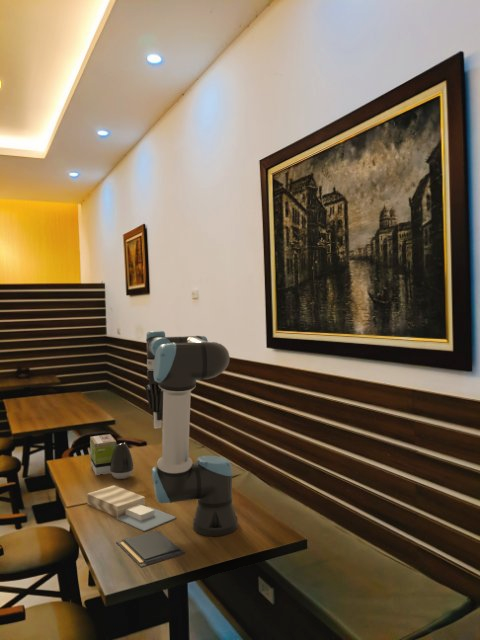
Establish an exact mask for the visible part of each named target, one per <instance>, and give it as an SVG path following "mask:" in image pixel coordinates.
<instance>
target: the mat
mask: <svg viewBox="0 0 480 640" xmlns="http://www.w3.org/2000/svg"><path fill="white" fill-rule="evenodd" d="M146 507H148V508H151V509H153V510H154V516H152V517H150V518H147V519H144V520H142V521H140V520H137V519H135V518H133V517H131V516H128V515H123V516H120V517H118V518H117V517H115V518H116V520H118V521H120V522H122V523H124V524H127V525H128V526H131V527H133V528H135V529H137V530H140V531H142V532H143V533H144V532H145V533H146V532H147V531H150V530H152V529H155V528H157V527H159V526H162V525H163V524H164V525H165V524H167V523H169V522H171V521H174V520H176V519H177V517H176V516H174V515H172V514H169V513H167V512H164V511H162V510H159V509H156V508H154V507H151V506H146Z"/></svg>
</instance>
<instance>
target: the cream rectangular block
mask: <svg viewBox="0 0 480 640" xmlns="http://www.w3.org/2000/svg"><path fill="white" fill-rule="evenodd" d="M125 514H126V515H128V516H131V517H133V518H135V519H137V520H140V521H142V520H144V519H147V518H150V517H152V516H154V510H153V509H151V508H148V507H147V506H146V505H145V506H143V505H141V504H137V505H134V506H132V507H129V508H126V509H125Z"/></svg>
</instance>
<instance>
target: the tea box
mask: <svg viewBox="0 0 480 640" xmlns="http://www.w3.org/2000/svg"><path fill="white" fill-rule="evenodd" d="M89 439H90V440H89V444H90V446H89V448H90V467H91V468H92V470H93V472H94V474H95V476H101V475H100V474H103V475H107V474H106V473H109V474H112V473H111V471H110V464H111V459H112V455H113V451H114V449H115V447H116V446H117V445H118V444H117V441H116V439H115V438H114V437H113V436H112V434H110V433H109V434H101V435H94V436H90V437H89Z"/></svg>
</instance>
